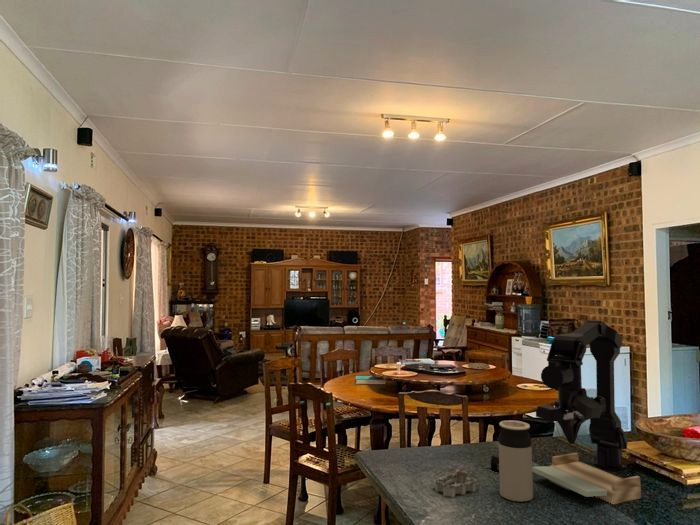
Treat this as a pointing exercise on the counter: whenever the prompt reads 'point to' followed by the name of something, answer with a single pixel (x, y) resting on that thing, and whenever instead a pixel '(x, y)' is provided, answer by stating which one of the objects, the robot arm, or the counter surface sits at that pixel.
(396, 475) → the counter surface
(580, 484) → the panel
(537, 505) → the counter surface
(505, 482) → the travel mug
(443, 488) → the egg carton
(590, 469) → the cart bed
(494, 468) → the build plate
